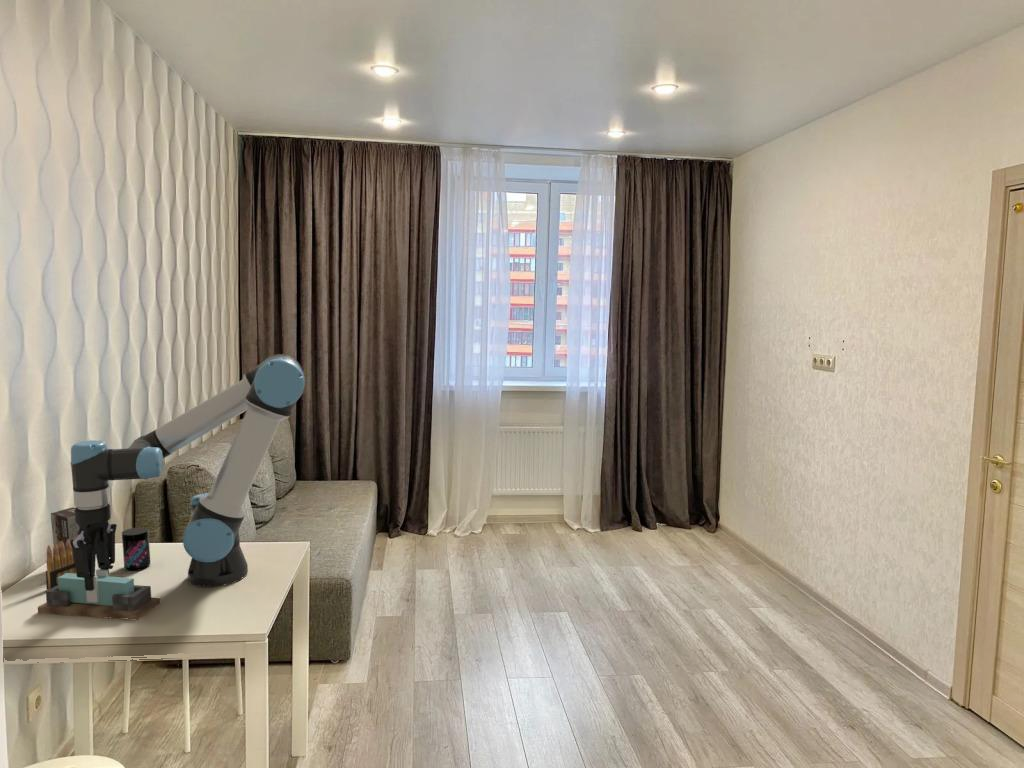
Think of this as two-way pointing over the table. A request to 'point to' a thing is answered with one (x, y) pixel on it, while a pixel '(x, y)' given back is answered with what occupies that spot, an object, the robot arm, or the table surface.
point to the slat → (105, 586)
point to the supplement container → (136, 548)
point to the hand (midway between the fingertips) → (98, 598)
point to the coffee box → (64, 527)
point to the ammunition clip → (59, 563)
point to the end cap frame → (121, 608)
